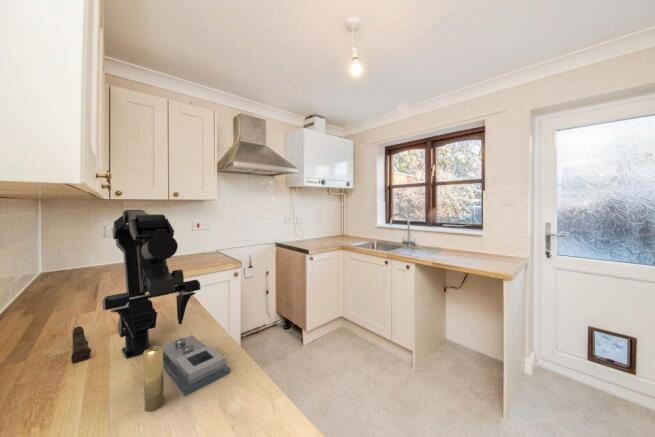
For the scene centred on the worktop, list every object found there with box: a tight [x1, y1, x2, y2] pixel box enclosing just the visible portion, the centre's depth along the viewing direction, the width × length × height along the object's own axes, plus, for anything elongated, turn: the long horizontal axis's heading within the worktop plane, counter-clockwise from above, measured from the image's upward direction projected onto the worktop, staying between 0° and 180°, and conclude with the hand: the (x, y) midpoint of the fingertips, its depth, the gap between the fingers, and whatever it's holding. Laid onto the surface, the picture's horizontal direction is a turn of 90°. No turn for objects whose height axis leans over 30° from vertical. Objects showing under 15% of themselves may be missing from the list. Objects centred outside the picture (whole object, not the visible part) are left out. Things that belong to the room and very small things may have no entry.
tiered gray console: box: [161, 335, 231, 397], centre depth 70 cm, size 22×11×4 cm, turn 49°
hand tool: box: [70, 326, 92, 364], centre depth 78 cm, size 19×4×5 cm, turn 45°
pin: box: [142, 345, 165, 413], centre depth 55 cm, size 4×4×12 cm
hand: (158, 330), depth 59 cm, fingers open, 9 cm apart
